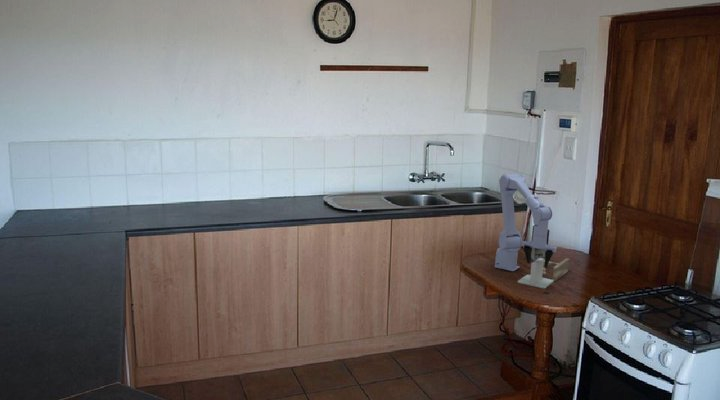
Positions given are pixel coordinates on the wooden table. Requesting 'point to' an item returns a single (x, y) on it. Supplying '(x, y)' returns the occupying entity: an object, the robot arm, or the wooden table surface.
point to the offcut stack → (544, 270)
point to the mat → (541, 283)
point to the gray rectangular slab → (536, 270)
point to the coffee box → (538, 252)
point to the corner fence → (559, 268)
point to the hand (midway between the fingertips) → (537, 264)
